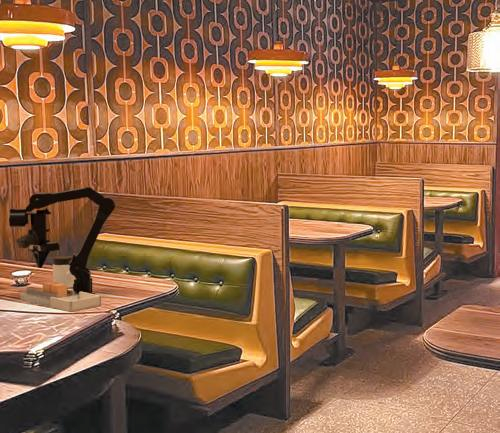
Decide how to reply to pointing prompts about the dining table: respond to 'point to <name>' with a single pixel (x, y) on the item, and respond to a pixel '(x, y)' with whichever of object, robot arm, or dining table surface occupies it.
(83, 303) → the chip tray
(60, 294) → the orange cube
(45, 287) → the orange rounded block
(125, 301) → the dining table surface
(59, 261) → the jar
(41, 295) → the slot plate
